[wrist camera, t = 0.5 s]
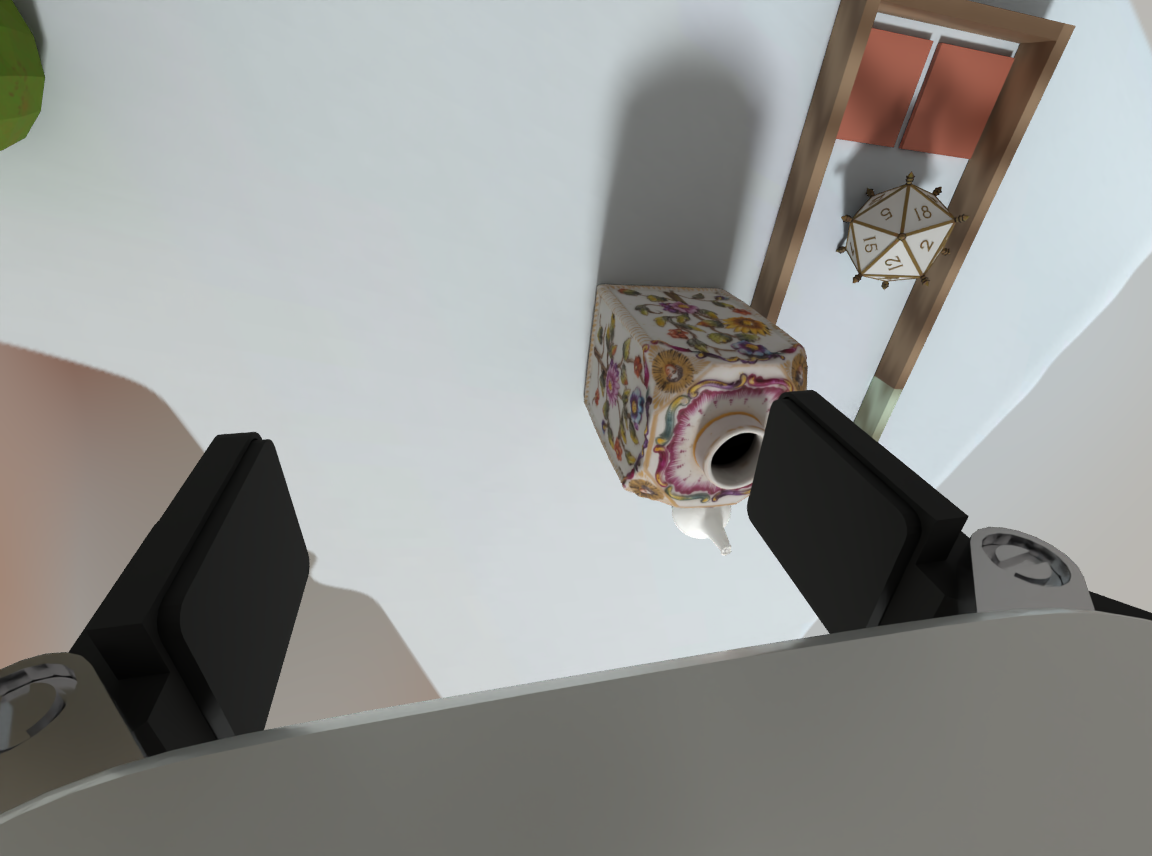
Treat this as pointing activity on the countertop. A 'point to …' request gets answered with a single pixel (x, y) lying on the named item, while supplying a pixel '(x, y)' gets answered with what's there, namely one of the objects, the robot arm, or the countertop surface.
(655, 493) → the decorative jar
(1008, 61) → the rectangular wooden frame
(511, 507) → the countertop surface
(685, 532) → the garlic bulb
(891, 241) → the game die
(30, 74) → the apple
